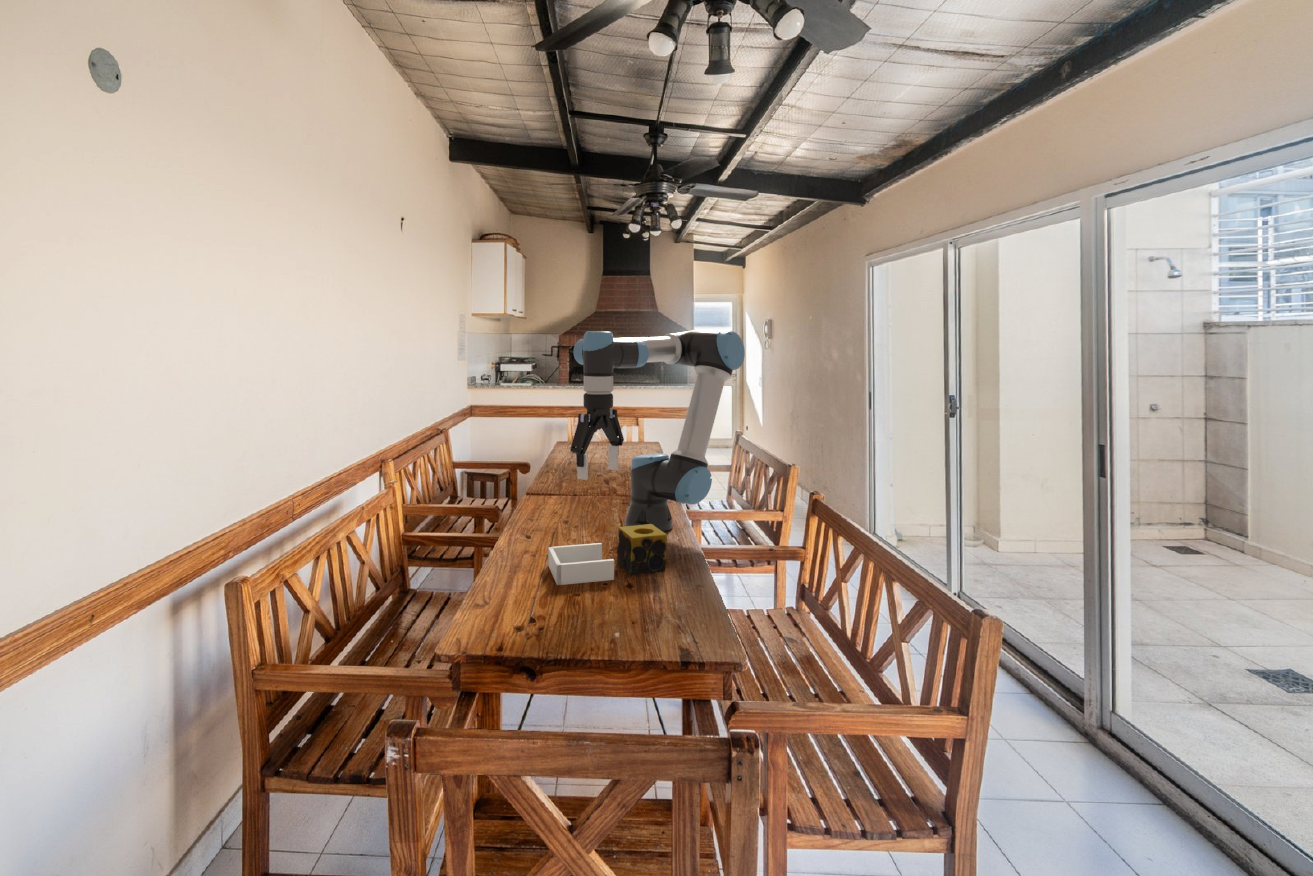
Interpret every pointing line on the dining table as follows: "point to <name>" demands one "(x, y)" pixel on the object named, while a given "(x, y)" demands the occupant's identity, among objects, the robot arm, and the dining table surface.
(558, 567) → the frame
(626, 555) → the candle
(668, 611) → the dining table surface
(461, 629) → the dining table surface
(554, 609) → the dining table surface
